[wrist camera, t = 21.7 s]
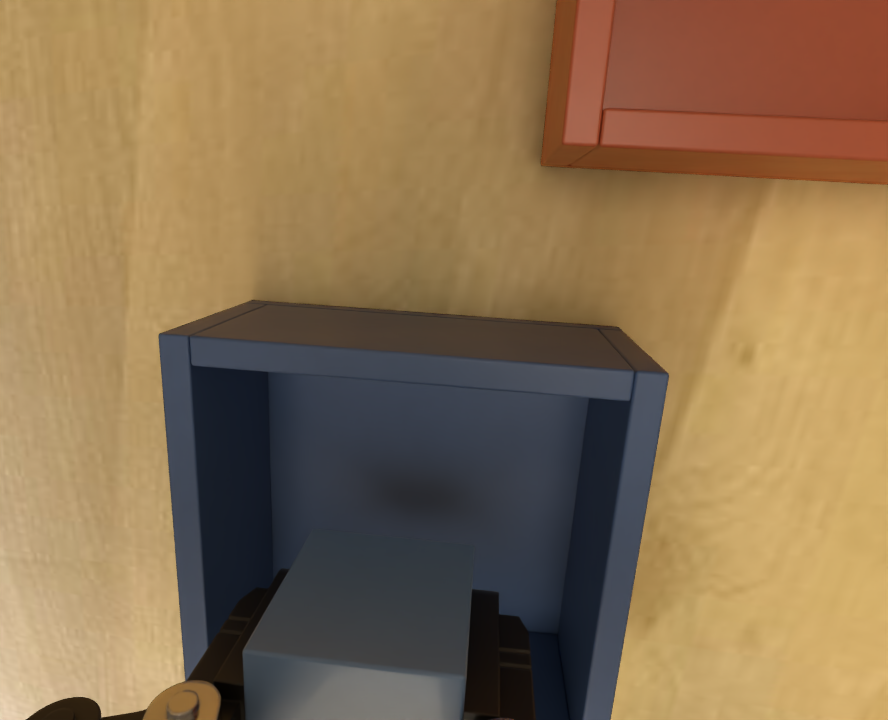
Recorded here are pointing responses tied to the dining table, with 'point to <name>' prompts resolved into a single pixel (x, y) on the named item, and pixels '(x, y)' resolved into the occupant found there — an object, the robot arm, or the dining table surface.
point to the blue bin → (419, 464)
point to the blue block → (364, 632)
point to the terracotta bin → (721, 88)
